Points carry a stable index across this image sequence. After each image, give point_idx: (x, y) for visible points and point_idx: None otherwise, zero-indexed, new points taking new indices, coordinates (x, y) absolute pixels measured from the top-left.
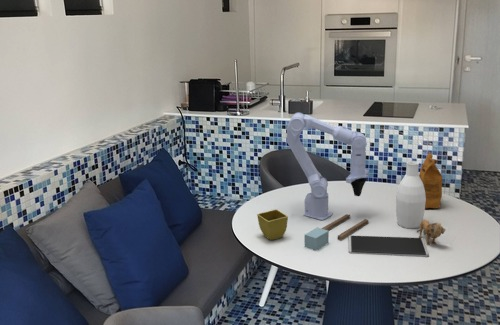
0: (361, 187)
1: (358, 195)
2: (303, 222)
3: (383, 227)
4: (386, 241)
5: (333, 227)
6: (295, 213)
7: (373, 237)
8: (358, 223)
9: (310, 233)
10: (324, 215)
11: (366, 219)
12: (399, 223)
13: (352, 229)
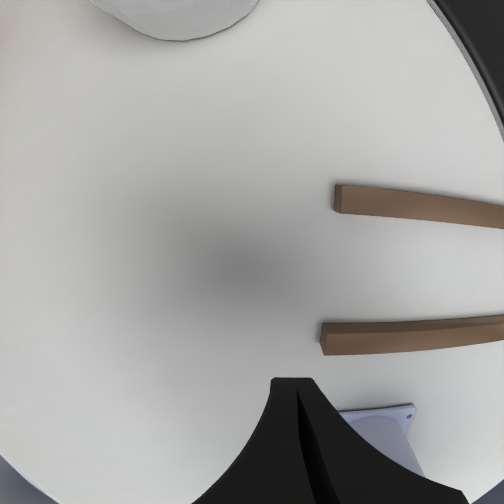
0: (299, 448)
1: (317, 386)
2: (448, 432)
3: (334, 76)
4: (491, 21)
5: (472, 318)
6: None
7: (501, 80)
8: (428, 216)
9: None
10: (389, 422)
11: (343, 200)
12: (254, 2)
13: (502, 208)
